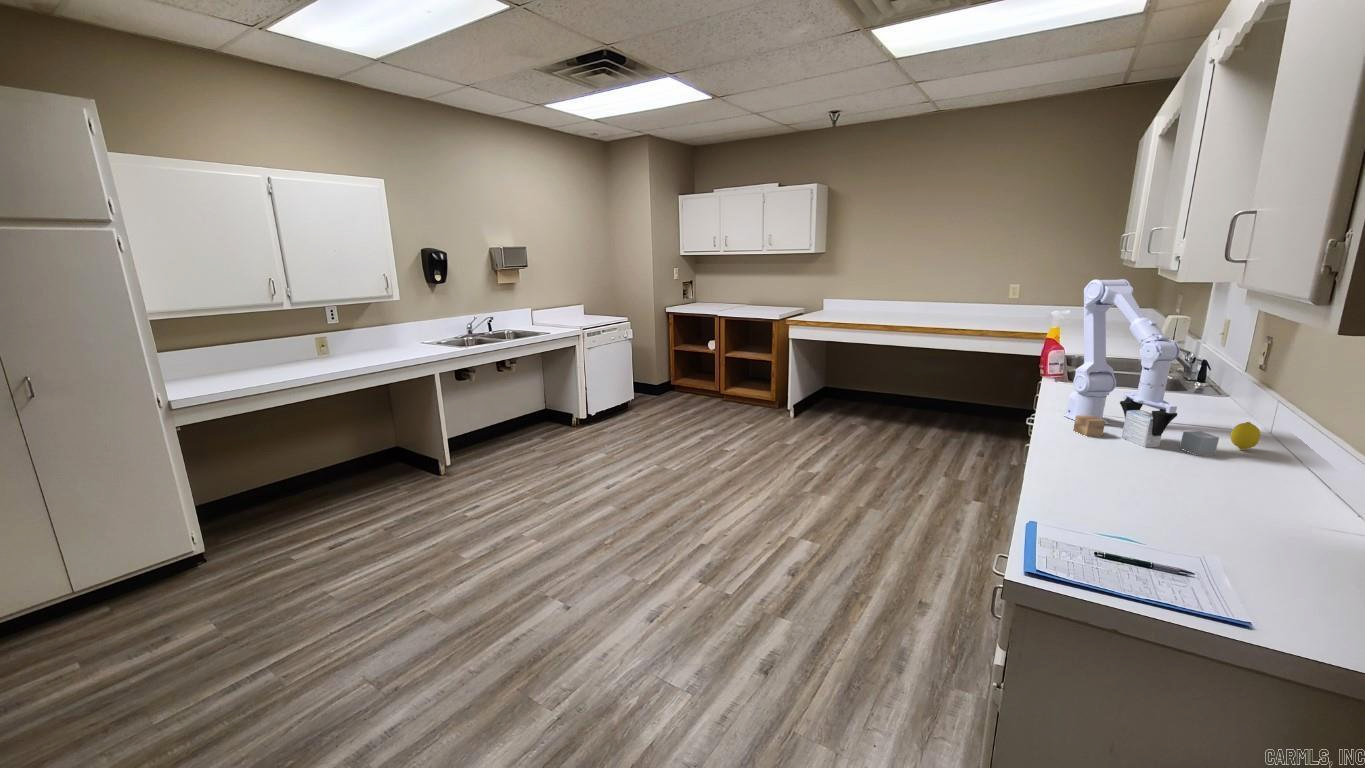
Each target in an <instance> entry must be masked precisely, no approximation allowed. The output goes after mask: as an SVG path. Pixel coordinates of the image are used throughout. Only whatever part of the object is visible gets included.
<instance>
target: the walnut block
mask: <svg viewBox="0 0 1365 768" xmlns="http://www.w3.org/2000/svg"><path fill="white" fill-rule="evenodd" d="M1105 421H1106V420H1105V419H1103V418H1102V419H1101V418H1098V417H1096V416H1093V415H1078V416H1076V418H1075V420H1074V424H1073V430H1072V431H1073V432H1074V431H1075V432H1074V433H1076V432H1078V433H1077V434H1079V433H1080V434H1079V435H1081V434H1082V435H1081V436H1083V435H1085V436H1097V437H1103V436H1104V435H1103V434H1104V430H1105V429H1104V428H1105V425H1106V424H1105ZM1085 436H1084V437H1085Z"/></svg>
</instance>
